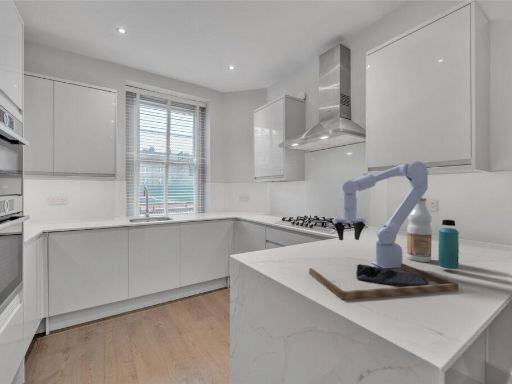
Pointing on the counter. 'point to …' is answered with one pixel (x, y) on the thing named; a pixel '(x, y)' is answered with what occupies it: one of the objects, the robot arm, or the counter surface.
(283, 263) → the counter surface
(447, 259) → the beverage bottle
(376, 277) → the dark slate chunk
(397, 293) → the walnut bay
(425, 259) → the fruit juice
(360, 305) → the counter surface
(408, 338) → the counter surface
